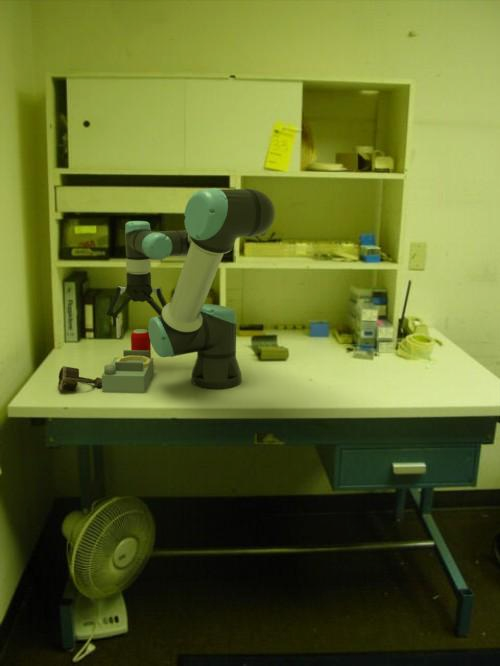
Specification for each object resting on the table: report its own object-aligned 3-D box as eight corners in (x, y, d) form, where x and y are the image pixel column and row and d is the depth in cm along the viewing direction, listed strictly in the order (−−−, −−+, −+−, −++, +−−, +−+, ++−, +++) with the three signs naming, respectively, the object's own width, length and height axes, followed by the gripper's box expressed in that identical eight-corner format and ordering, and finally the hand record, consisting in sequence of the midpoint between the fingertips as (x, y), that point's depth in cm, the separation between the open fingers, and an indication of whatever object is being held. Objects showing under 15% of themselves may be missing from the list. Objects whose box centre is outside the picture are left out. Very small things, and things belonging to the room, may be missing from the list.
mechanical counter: (59, 364, 182) (49, 368, 172) (102, 361, 183) (95, 364, 173) (62, 389, 183) (52, 393, 173) (105, 385, 183) (97, 389, 173)
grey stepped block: (153, 373, 192) (153, 350, 190) (144, 392, 176) (143, 367, 174) (115, 372, 192) (114, 349, 190) (102, 391, 176) (101, 367, 174)
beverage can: (146, 362, 203) (145, 327, 200) (154, 367, 198) (153, 331, 195) (129, 365, 200) (127, 329, 196) (136, 370, 195) (135, 334, 191)
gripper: (180, 270, 194) (180, 335, 200) (101, 268, 194) (103, 333, 200) (177, 275, 187) (177, 342, 193) (95, 272, 187) (98, 339, 193)
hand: (140, 337), depth 196 cm, fingers open, 13 cm apart
